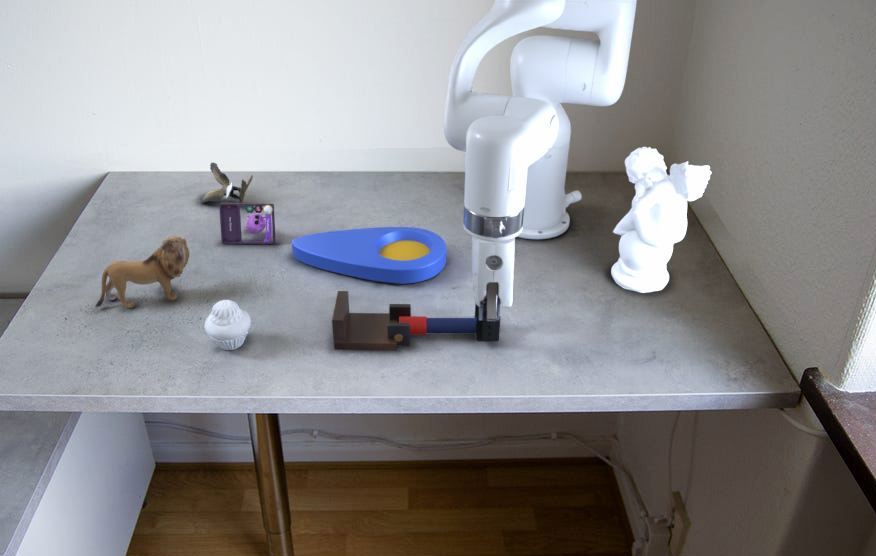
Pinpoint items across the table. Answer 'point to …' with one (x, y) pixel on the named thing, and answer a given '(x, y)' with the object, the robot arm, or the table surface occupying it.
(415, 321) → the blue lever handle
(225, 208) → the purple toy package
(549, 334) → the table surface
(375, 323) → the brown lever base
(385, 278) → the location marker
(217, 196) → the eagle figurine
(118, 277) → the lion figurine
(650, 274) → the cherub figurine
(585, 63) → the robot arm
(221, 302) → the muffin
